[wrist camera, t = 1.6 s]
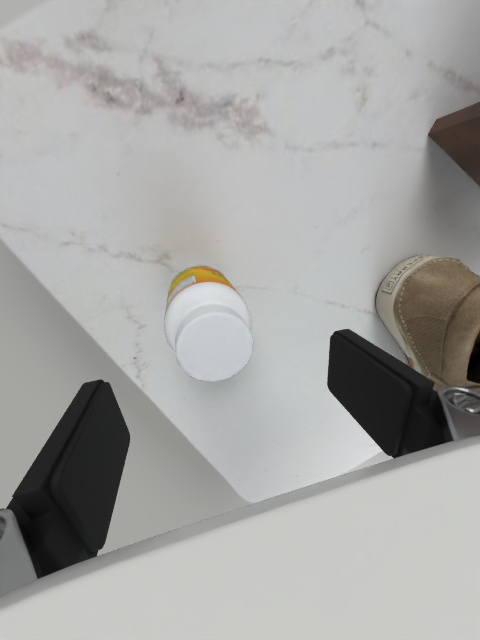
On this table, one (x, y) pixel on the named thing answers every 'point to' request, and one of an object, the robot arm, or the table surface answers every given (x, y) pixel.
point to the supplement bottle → (207, 324)
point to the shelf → (461, 138)
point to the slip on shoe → (435, 318)
